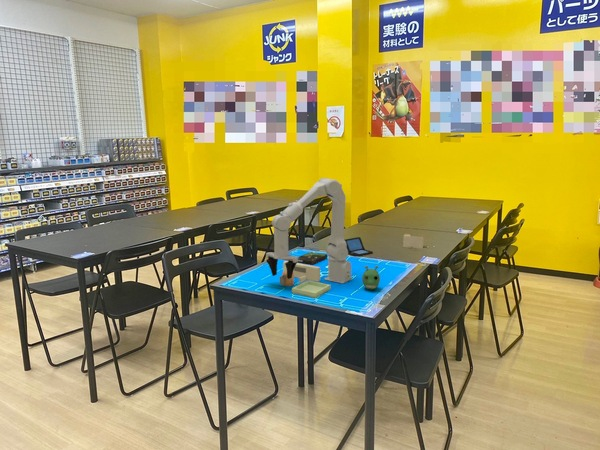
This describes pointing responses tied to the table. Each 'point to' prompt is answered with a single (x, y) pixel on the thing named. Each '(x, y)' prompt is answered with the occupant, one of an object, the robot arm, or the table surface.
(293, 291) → the tray
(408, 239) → the model
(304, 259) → the disk drive
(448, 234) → the table surface
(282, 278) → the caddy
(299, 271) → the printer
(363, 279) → the alien toy
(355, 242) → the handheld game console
